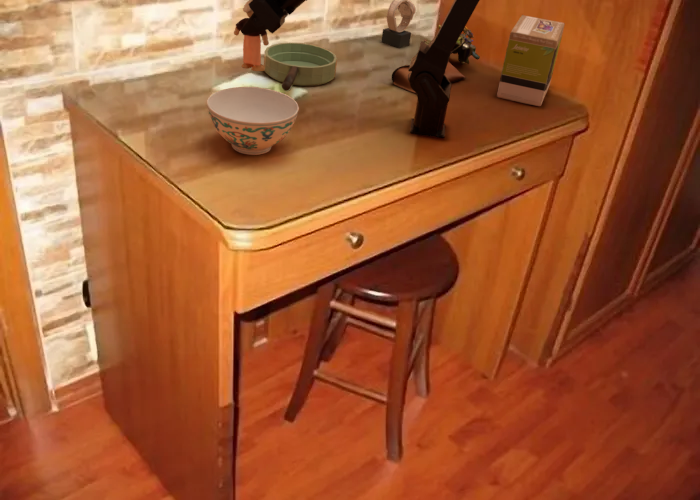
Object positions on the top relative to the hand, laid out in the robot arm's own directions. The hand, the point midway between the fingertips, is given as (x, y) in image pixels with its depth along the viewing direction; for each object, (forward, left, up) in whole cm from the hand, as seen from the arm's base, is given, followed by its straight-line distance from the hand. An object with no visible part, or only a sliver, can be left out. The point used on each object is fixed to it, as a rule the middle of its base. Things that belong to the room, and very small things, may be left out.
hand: (244, 30), depth 135 cm
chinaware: (-20, -6, -13) cm, 25 cm away
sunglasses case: (+25, -36, -13) cm, 46 cm away
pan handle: (+5, -8, -11) cm, 15 cm away
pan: (+18, -8, -13) cm, 24 cm away
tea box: (+27, -57, -13) cm, 65 cm away
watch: (+49, -27, -13) cm, 57 cm away
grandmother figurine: (0, -1, -7) cm, 7 cm away
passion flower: (+38, -40, -13) cm, 57 cm away
